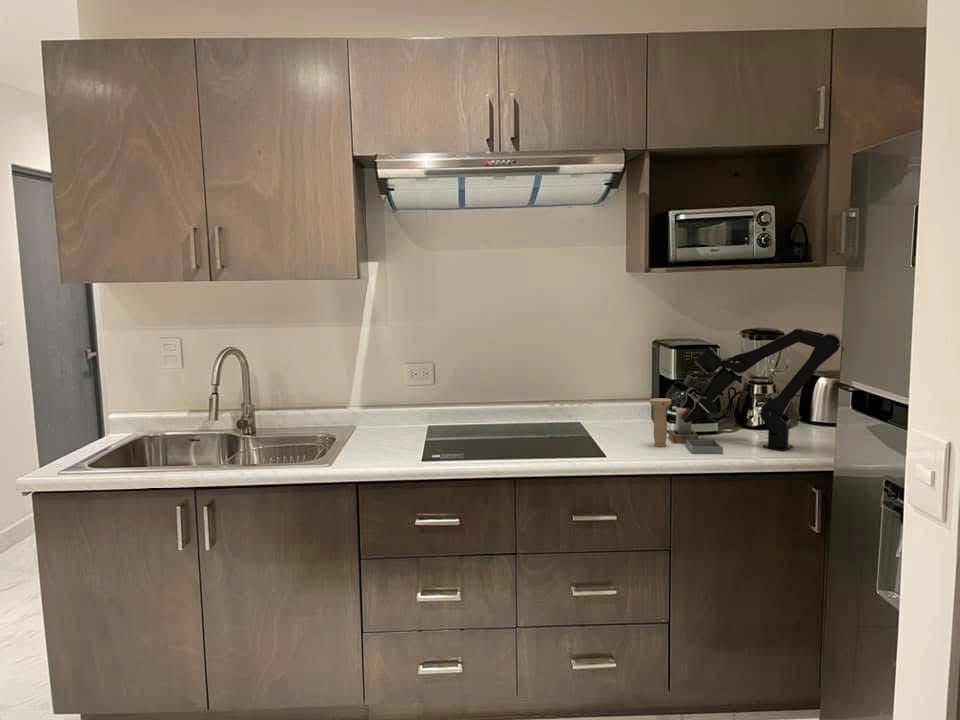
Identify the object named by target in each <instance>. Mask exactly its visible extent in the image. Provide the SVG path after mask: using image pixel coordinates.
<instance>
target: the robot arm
mask: <svg viewBox="0 0 960 720" xmlns="http://www.w3.org/2000/svg"><path fill="white" fill-rule="evenodd" d="M797 343H798V344H799V343H801V344H804V345H807V346H810V347H813V350H812V352H811V354H810V355H809V356H808V357H809V358H807V360H806V361H805V362H804V364H803V365H802V366H801V368H800V369H798V371H797V372H796V374H794V376H793V377H792V378H791V379H790V381H789V383H787V384H786V386H785V387H784V388H783V389H782V390H781V392H780V393H779V394H777V395H775V394H774V393H772V394H771V395H769V397H768V398H767V400H766V402H764V403H763V404H762V405H761V407H760V408H762V409H761V410H760V419H761V420H762V421H763V422H764V423H765V424H766V426H767V429H768V432H767V434H768V435H767V443H765V444H764V445H762V447H763V448H767V449H772V450H778V451H787V450H789V449H791V448H793V447H794V446H793V445H791V444H789V441H790V440H789V435H790V428H789V427H790V424H791V422H792V419H791V418H790V416H788V415H787V414H786V413H785V412H786V410H787V408H788V407H789V405H790V402H791V401H792V399H793V398H794V397H795V396H796V394H797V393H798V392H800V390H801V388H803V386H804V385H805V384H806V383H807V382H808V380H809V379H810V378H811V377H812V375H813V374H814V373H815V372H816V371H817V369H818V368H819V367H820V366H821V365H822V364H824V363H825V362H826V361H827V360H828V359H830V358H831V357H832V356H833V355H834V354H835V353H837V352H838V351H839V350H840V348H841V346H842V339H841V337H840V336H839V335H838V334H837V333H834V332H827V333H822V332H817V331H812V330H808V329H805V328H803V327H797V328H795V329H793V330H792V331H790V332H788V333H786V334H784V335H782V336H780V337H777V338H776V339H773V340H771V341H770V342H767V343H766V344H763V345H761V346H759V347H757V348H753V349H749V350H746V351H743V352H739V353H736V354H735V355H733V356H732V357H725V358H722V357H721V356H720V355H719V354H718V353H717V352H716V351H715V349H713V347H708V348H707V349H706V350H705V351H704V352H703V353H701V354H699V356H698V357H697V358H696V359H695V360H694V364H696V365H697V366H698V367H699V368H700V369H701V370H702V371H703V372H704V373H705V374H706V375H708V374H711V375H713V376H712V377H711V378H709V379H708V378H707V379H704V380H703V378H701V377H699V376H698V375H697V376H695V377H693V376H691V375H689V374H687V375H686V377H685V379H684V381H683V383H682V384H683V385H684V386H686V387H688V388H687V389H686V390H685V401H684V402H683V405H682V406H681V408H689V409H690V410H691V411H690V413H689V414H688V415H687V416H686V418H685V419H684V422H685V423H688V422H690V421H691V422H692V421H696V420H698V419H699V420H700V419H702V418H705V417H709V416H713V415H715V413H717V412H718V406H717V405H716V404H715V403H714V402H715V401H716V400H717V399H718V398H719V397H720V396H721V397H723V396H724V395H725V391H727V390H728V389H729V387H731V386H732V385H733V384H734V383H735V382H736V383H737V384H738V385H739V386H740V385H742V384H743V381H742V380H743V379H742V378H743V375H738V374H743V373H745V372H746V371H748V370H749V369H751V368H752V367H753V366H755V365H756V364H758V363H759V362H761V361H762V360H764V359H766V358H768V357H769V356H772V355H774V354H775V353H779V352H781V351H783V350H785V349H787V348H789V347H790V346H793V345H795V344H797ZM720 368H721V369H720ZM728 369H730V370H728ZM715 372H716V373H715ZM714 373H715V374H714Z"/></svg>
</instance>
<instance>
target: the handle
mask: <svg viewBox="0 0 960 720" xmlns="http://www.w3.org/2000/svg"><path fill="white" fill-rule="evenodd" d="M649 404H650V405H651V406H653V407H654V420H653V421H654V423H653V440H654V446H655V447H657V448H664V447H666V446H667V443H666V442H667V440H668V439H667V437H668V425H667V424H668V422H667V408H668V407H669V406H671V405H672V399H671V398H665V397H664V398H663V397H662V398H661V397H660V398H658V397H657V398H656V397H655V398H650V399H649Z"/></svg>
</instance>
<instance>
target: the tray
mask: <svg viewBox="0 0 960 720" xmlns="http://www.w3.org/2000/svg"><path fill="white" fill-rule="evenodd" d="M685 447H686V449H687V450H688V451H689V452H690V453H691V454H692V455H723V454H724V453H723V452H724V447H723V445H721V444H720V443H719V442H718V441H717V440H716V439H698V440H686V444H685Z"/></svg>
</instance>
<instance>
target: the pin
mask: <svg viewBox="0 0 960 720" xmlns="http://www.w3.org/2000/svg"><path fill="white" fill-rule="evenodd" d="M690 411H691V410H690V409H689V408H682V407H676V409H675V430H676V435H691V430H692V421H690V422H688V423H685V422H684V419H685V418H686V416H687V415H688V414H689V413H690Z"/></svg>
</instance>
